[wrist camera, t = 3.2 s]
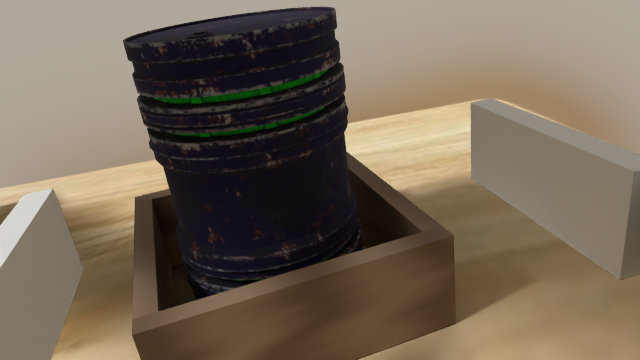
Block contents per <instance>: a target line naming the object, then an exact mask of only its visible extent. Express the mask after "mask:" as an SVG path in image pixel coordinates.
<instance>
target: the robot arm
mask: <svg viewBox="0 0 640 360" xmlns="http://www.w3.org/2000/svg"><path fill="white" fill-rule="evenodd" d="M471 179H473V180H474V181H476V182H477V183H479V184H480V185H482V186H483V187H485V188H486V189H488V190H489V191H490V192H492V193H493V194H495V195H496V196H498V197H499V198H501V199H502V200H504V201H505V202H506V203H508V204H509V205H511V206H512V207H514V208H515V209H517V210H518V211H520V212H521V213H522V214H524V215H525V216H527V217H528V218H530V219H531V220H533V221H534V222H536V223H537V224H539V225H540V226H541V227H543V228H544V229H546V230H547V231H549V232H550V233H552V234H553V235H555V236H556V237H557V238H559V239H560V240H562V241H563V242H565V243H566V244H568V245H569V246H571V247H572V248H573V249H575V250H576V251H578V252H579V253H581V254H582V255H584V256H585V257H587V258H588V259H590V260H591V261H592V262H594V263H595V264H597V265H598V266H600V267H601V268H603V269H604V270H606V271H607V272H608V273H610V274H611V275H613V276H614V277H616V278H617V279H619V280H622V279H626V278H629V277H632V276H636V275H639V274H640V154H637V153H635V152H632V151H629V150H627V149H624V148H622V147H619V146H616V145H614V144H611V143H608V142H606V141H603V140H600V139H598V138H595V137H592V136H590V135H587V134H584V133H582V132H579V131H576V130H574V129H571V128H568V127H566V126H563V125H560V124H558V123H555V122H552V121H550V120H547V119H545V118H542V117H539V116H537V115H534V114H531V113H529V112H526V111H523V110H521V109H518V108H515V107H513V106H510V105H507V104H505V103H502V102H499V101H497V100H494V99H487V100H482V101H477V102H472V103H471ZM83 271H84V268H83V265H82V262H81V260H80V257H79V255H78V252H77V249H76V247H75V244H74V242H73V239H72V236H71V234H70V231H69V228H68V226H67V223H66V221H65V218H64V215H63V213H62V210H61V208H60V205H59V202H58V200H57V197H56V195H55V192H54V189H48V190H43V191H38V192H33V193H28V194H24V196H23V197H22V198H21V200H20V201H19V202H18V203H17V205H16V206H15V207H14V208H13V210H12V211H11V212H10V214H9V215H8V216H7V217H6V219H5V220H4V221H3V223H2V224H1V225H0V360H51V358H52V355H53V352H54V350H55V347H56V344H57V342H58V339H59V336H60V333H61V331H62V328H63V325H64V323H65V320H66V317H67V314H68V312H69V309H70V306H71V303H72V301H73V298H74V295H75V293H76V290H77V287H78V284H79V282H80V279H81V276H82V274H83Z"/></svg>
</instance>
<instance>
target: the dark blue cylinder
mask: <svg viewBox="0 0 640 360" xmlns="http://www.w3.org/2000/svg"><path fill="white" fill-rule="evenodd" d="M336 28H337V21H336V12H335V9H334V8H332V7H302V8H290V9H279V10H269V11H261V12H254V13H245V14H238V15H232V16H225V17H218V18H213V19H206V20H200V21H195V22H189V23H184V24H179V25H174V26H169V27H165V28H160V29H155V30H151V31H147V32H144V33H140V34H136V35H134V36H130V37H128V38H126V39H124V40H123V43H124V47H125V50H126V54H127V57H128V60H129V61H132V63H133V66H134V70H135V71H134V73H133V74H132V75H133V79H134V82H135V86H136V89H137V92H138V93H139V94H140V95H139V96H138V98H137V102H138V105H139V109H140V112H141V116H142V119H143V123H144V125H145V126H147V127H148V129H147V130H148V133H149V137H150V142H149V145H150V148H151V149H152V150H153V151H154V154H155V158H156V160H157V161H158V162H159V163H160V164H161V165H162V166H163V167H164V171H165V175H166V178H167V182H168V185H169V189H170V193H171V196H172V200H173V203H174V207H175V211H176V214H177V218H178V223H177V226H176V234H177V237H178V241H179V242H178V244H179V248H180V251H181V252H182V261H183V265H184V268H185V272H186V276H187V279H188V282H189V284H190V286H191V287H192V289H193V292H194V295H195V298H196V299H197V300H198V299H202V298H205V297H208V296H212V295H215V294H218V293H222V292H225V291H228V290H232V289H235V288H238V287H241V286H245V285H248V284H251V283H255V282H258V281H261V280H265V279H268V278H271V277H274V276H278V275H281V274H284V273H288V272H291V271H294V270H298V269H301V268H304V267H308V266H311V265H314V264H317V263H321V262H324V261H327V260H331V259H334V258H337V257H341V256H344V255H347V254H350V253H354V252H357V251H360V250H362V249H363V240H362V231H361V224H360V221H359V218H358V212H357V203H356V196H355V193H354V191H353V190H352V189H351V187H350V180H349V171H348V162H347V154H346V145H345V136H344V132H345V130H346V128H347V123H348V121H347V115H348V108H347V106H346V102H345V96H344V94H343V93H344V92H345V89H346V85H345V76H344V72H343V71H344V68H343V65H342V64H341V63H340V62H339V61H340V48H339V42H338V41H337V40H336V39H335V31H334V30H335V29H336Z"/></svg>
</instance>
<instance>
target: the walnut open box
mask: <svg viewBox="0 0 640 360" xmlns="http://www.w3.org/2000/svg"><path fill="white" fill-rule="evenodd" d="M346 154H347V162H348V171H349V180H350V187H351V189H352V190H353V191H354V193H355V196H356V203H357V212H358V218H359V221H360V224H361V231H362V240H363V245H364V246H365V248H366V249H364V250H360V251H357V252H354V253H350V254H347V255H344V256H341V257H337V258H334V259H331V260H327V261H324V262H321V263H317V264H314V265H311V266H308V267H304V268H301V269H298V270H294V271H291V272H288V273H284V274H281V275H278V276H274V277H271V278H268V279H265V280H261V281H258V282H255V283H251V284H248V285H245V286H241V287H238V288H235V289H232V290H228V291H225V292H222V293H218V294H215V295H212V296H208V297H205V298H202V299H198V300H195V301H192V302H189V303H185V304H182V305H179V306H176V300H175V291H174V283H173V274H172V267H174V266H177V265H181V264H183V261H182V252H181V251H180V248H179V244H178V242H179V241H178V237H177V234H176V226H177V223H178V218H177V214H176V211H175V207H174V203H173V200H172V196H171V193H170V189H167V190H163V191H159V192H155V193H151V194H146V195H142V196H138V197H135V223H134V272H133V322H132V336H133V339H134V341H135V344H136V347H137V350H138V353H139V355H140V358H141V360H356V359H358V358H361V357H364V356H367V355H369V354H372V353H375V352H378V351H381V350H383V349H386V348H389V347H392V346H394V345H397V344H400V343H403V342H405V341H408V340H411V339H414V338H416V337H419V336H422V335H425V334H427V333H430V332H433V331H436V330H438V329H441V328H444V327H447V326H449V325H452V324H455V279H454V235H452V234H451V233H450V232H449V231H447V230H446V229H445V228H443V227H442V226H441V225H440V224H438V223H437V222H436V221H435V220H433V219H432V218H431V217H429V216H428V215H427V214H426V213H424V212H423V211H422V210H420V209H419V208H418V207H417V206H415V205H414V204H413V203H412V202H410V201H409V200H408V199H406V198H405V197H404V196H403V195H401V194H400V193H399V192H397V191H396V190H395V189H394V188H392V187H391V186H390V185H389V184H387V183H386V182H385V181H383V180H382V179H381V178H380V177H378V176H377V175H376V174H374V173H373V172H372V171H371V170H369V169H368V168H367V167H366V166H364V165H363V164H362V163H360V162H359V161H358V160H357V159H355V158H354V157H353V156H351V155H350V154H349V153H348V152H346Z"/></svg>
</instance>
